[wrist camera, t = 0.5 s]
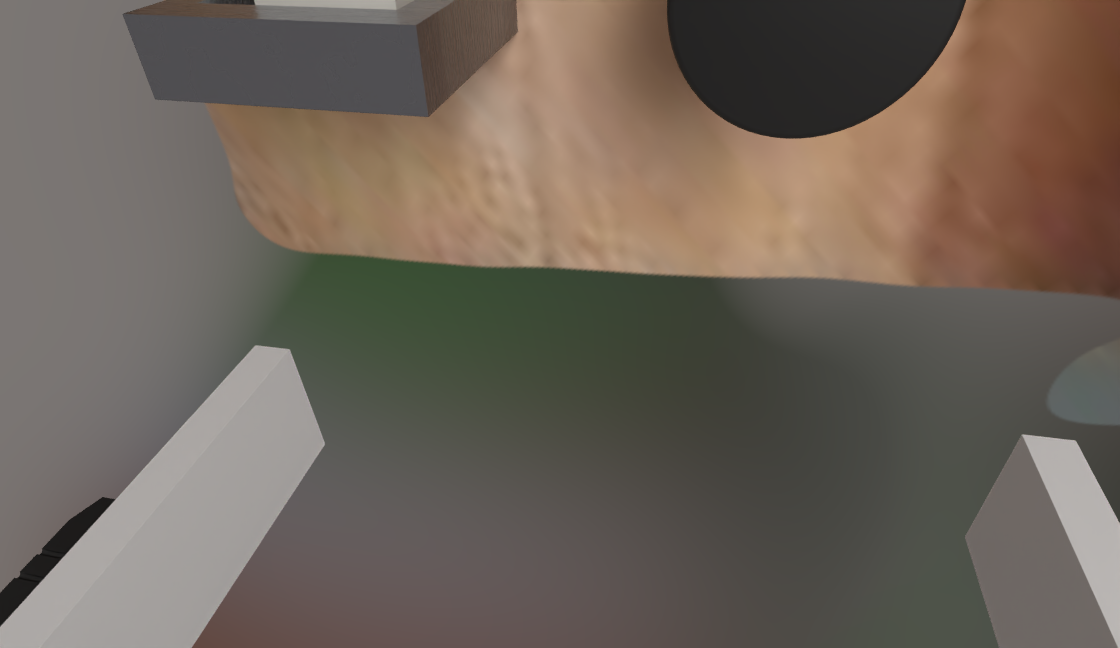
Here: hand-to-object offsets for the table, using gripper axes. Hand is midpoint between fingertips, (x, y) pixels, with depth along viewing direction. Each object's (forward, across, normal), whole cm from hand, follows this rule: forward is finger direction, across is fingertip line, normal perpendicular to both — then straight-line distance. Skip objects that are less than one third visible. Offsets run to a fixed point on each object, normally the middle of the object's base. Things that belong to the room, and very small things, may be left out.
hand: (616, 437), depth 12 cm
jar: (+25, +4, +5) cm, 26 cm away
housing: (+25, -14, +3) cm, 29 cm away
